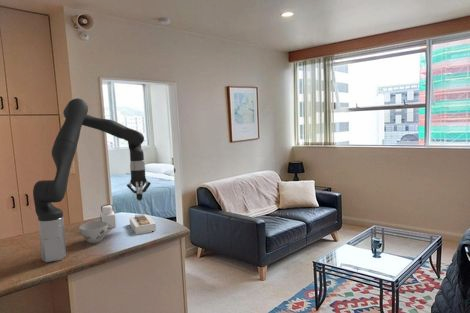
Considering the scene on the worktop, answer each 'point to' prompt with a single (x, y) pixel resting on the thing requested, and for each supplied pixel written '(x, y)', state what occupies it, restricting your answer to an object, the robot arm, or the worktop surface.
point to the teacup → (94, 231)
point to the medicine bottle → (108, 215)
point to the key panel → (142, 228)
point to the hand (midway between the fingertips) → (139, 200)
